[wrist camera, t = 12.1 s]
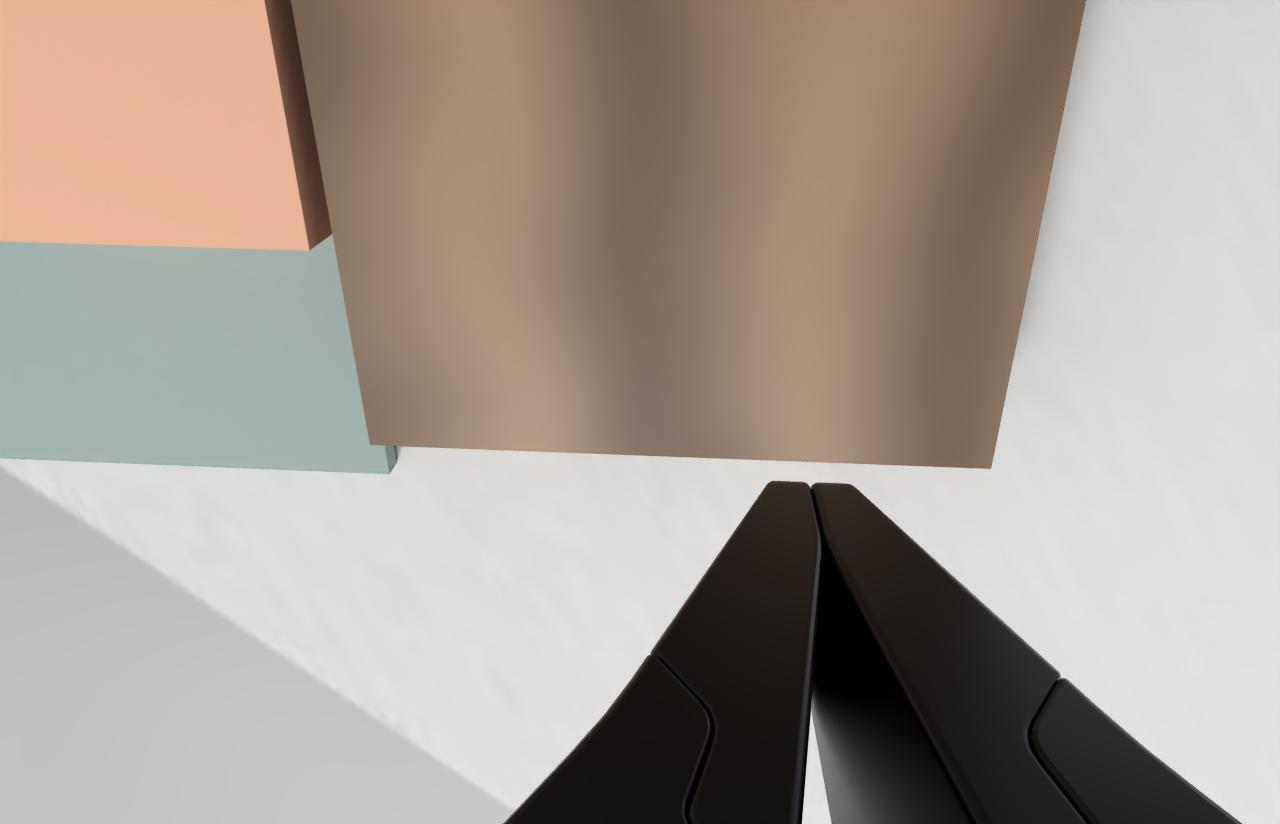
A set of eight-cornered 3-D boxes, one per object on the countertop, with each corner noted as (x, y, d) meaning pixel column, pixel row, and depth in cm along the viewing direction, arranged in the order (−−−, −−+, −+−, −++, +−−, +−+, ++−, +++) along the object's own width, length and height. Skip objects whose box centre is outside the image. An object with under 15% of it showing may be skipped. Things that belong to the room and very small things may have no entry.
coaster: (289, -138, 17) (237, -148, 15) (346, 223, 20) (309, 250, 18) (-54, -136, 18) (-142, -144, 16) (56, 215, 21) (-7, 241, 19)
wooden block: (1125, -473, 14) (1196, -550, 12) (965, 414, 22) (990, 468, 19) (279, -429, 15) (203, -491, 13) (404, 396, 23) (370, 444, 21)
